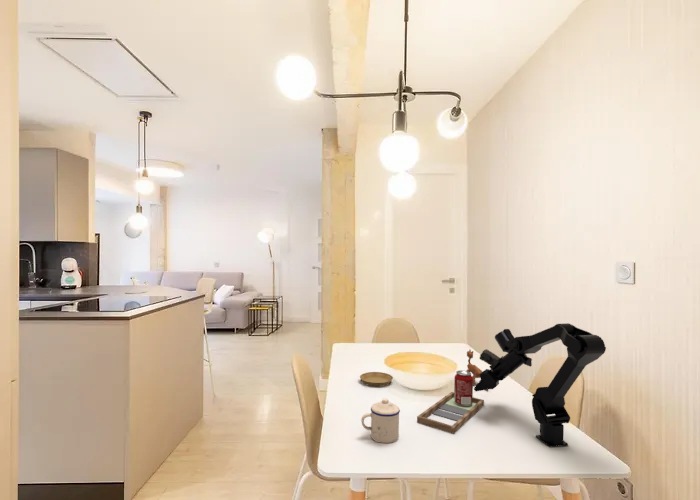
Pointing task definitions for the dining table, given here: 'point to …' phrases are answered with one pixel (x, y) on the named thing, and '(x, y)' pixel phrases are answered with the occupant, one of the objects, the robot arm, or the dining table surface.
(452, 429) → the walnut tray
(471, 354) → the cat figurine
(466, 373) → the soda can
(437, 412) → the pads
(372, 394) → the dining table surface
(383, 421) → the teacup with lid
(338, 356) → the dining table surface
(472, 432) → the dining table surface
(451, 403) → the pad
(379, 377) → the plant saucer
